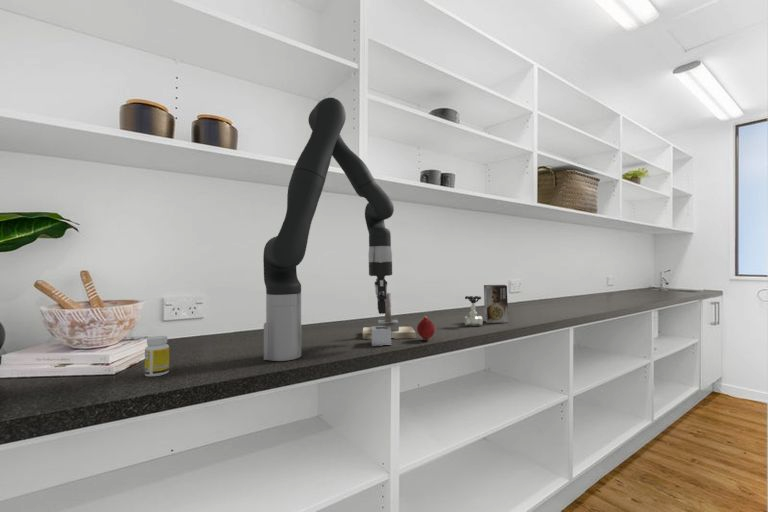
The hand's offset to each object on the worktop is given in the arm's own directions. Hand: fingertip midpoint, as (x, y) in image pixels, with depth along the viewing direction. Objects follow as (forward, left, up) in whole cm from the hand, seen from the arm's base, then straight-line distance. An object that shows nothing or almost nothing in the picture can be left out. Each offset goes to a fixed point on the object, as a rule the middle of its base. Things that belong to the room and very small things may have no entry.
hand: (381, 311), depth 113 cm
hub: (0, 0, -10) cm, 10 cm away
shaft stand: (+3, +14, -10) cm, 17 cm away
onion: (+15, +4, -10) cm, 18 cm away
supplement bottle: (-53, -28, -10) cm, 61 cm away
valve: (+39, +31, -10) cm, 51 cm away
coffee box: (+52, +41, -10) cm, 67 cm away
